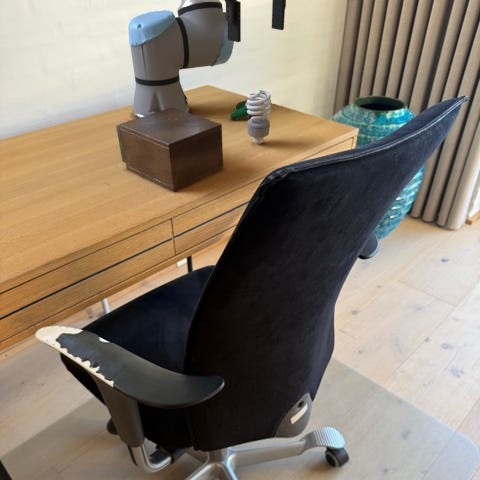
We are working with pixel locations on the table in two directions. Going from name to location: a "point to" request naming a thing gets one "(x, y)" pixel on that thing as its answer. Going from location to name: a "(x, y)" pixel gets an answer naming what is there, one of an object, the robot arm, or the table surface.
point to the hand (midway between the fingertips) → (256, 34)
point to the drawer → (120, 143)
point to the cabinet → (172, 147)
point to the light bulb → (258, 124)
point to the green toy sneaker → (240, 111)
